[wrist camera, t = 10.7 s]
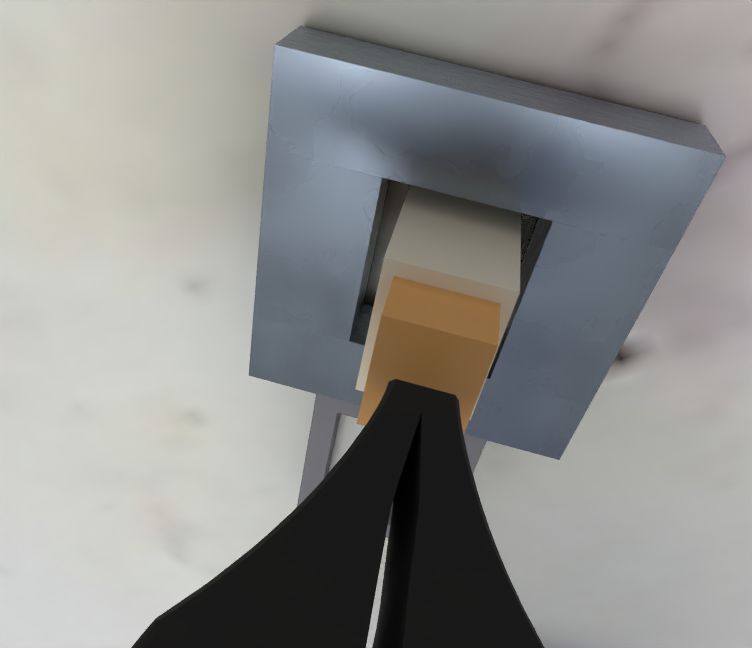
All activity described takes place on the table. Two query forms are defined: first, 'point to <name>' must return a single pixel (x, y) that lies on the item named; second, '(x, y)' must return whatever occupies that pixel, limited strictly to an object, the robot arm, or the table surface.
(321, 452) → the grey mounting plate
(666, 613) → the table surface
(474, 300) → the plug
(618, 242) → the port block
